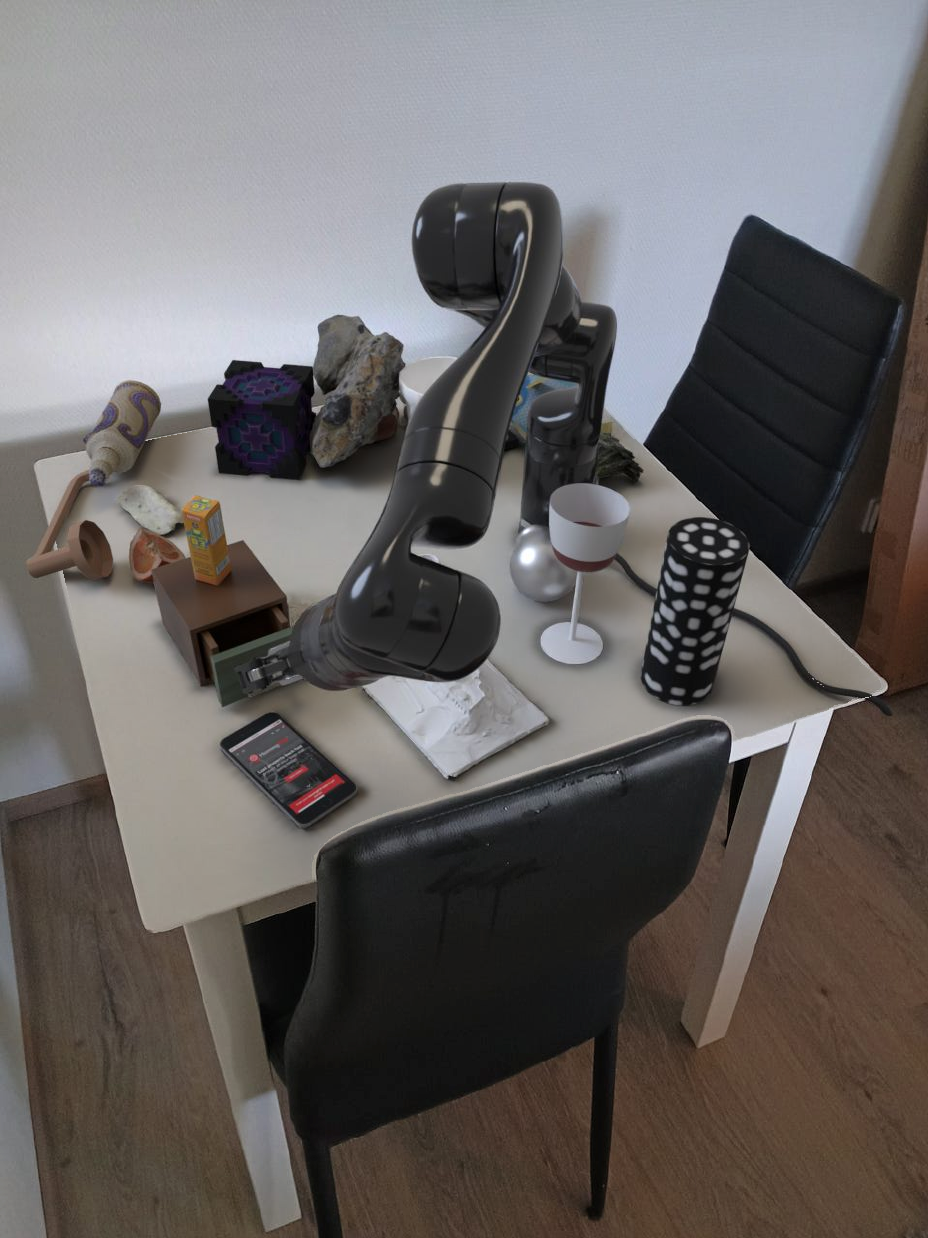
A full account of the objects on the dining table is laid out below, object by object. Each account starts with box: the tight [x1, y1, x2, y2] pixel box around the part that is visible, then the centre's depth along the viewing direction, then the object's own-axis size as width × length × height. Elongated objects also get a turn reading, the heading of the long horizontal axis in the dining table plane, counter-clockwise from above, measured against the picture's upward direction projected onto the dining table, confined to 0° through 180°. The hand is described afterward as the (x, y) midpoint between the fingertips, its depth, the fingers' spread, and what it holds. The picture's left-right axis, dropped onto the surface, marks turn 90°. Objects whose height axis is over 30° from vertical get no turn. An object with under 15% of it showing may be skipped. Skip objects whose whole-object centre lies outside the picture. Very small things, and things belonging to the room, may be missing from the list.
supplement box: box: [180, 494, 232, 586], centre depth 112 cm, size 3×3×10 cm
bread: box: [374, 406, 400, 442], centre depth 156 cm, size 11×11×5 cm
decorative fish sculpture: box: [511, 374, 613, 441], centre depth 154 cm, size 12×20×15 cm
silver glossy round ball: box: [509, 525, 578, 602], centre depth 125 cm, size 9×10×10 cm
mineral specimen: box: [595, 433, 644, 483], centre depth 147 cm, size 15×13×10 cm
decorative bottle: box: [82, 379, 162, 487], centre depth 146 cm, size 26×8×7 cm, turn 1°
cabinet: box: [151, 539, 291, 687], centre depth 117 cm, size 12×11×8 cm
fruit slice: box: [128, 526, 186, 584], centre depth 127 cm, size 8×7×5 cm
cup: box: [399, 355, 458, 422], centre depth 144 cm, size 12×12×15 cm
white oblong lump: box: [117, 484, 184, 536], centre depth 138 cm, size 12×5×4 cm
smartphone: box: [219, 710, 358, 829], centre depth 104 cm, size 7×1×15 cm
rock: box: [309, 314, 407, 468], centre depth 144 cm, size 25×21×15 cm
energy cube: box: [207, 359, 317, 481], centre depth 147 cm, size 12×12×12 cm
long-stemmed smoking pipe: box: [26, 469, 114, 581], centre depth 133 cm, size 25×9×8 cm, turn 3°
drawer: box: [197, 605, 299, 708], centre depth 112 cm, size 15×10×7 cm, turn 32°
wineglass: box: [539, 483, 631, 665], centre depth 114 cm, size 8×9×20 cm
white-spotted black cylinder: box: [640, 516, 751, 706], centre depth 110 cm, size 8×8×20 cm
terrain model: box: [361, 659, 550, 780], centre depth 113 cm, size 17×23×5 cm
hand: (301, 658), depth 94 cm, fingers open, 8 cm apart
